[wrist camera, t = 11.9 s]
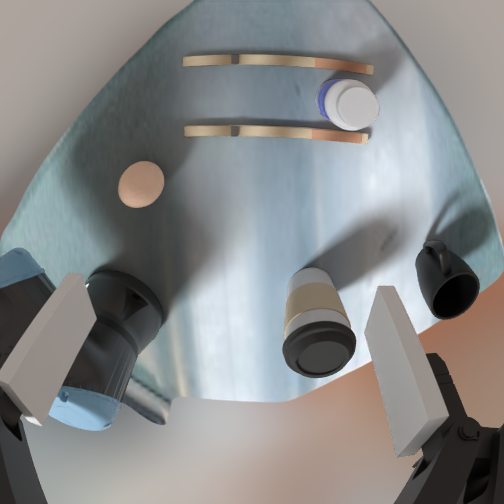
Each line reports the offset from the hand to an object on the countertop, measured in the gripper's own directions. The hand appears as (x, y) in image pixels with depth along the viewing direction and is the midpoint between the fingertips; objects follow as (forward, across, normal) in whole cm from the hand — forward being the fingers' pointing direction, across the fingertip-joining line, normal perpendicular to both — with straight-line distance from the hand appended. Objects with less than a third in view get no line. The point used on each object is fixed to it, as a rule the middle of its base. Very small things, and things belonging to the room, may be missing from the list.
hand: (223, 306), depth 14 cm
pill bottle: (+29, +10, +7) cm, 31 cm away
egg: (+29, -13, -3) cm, 32 cm away
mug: (+29, +27, -13) cm, 42 cm away
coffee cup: (+29, +9, -20) cm, 36 cm away
